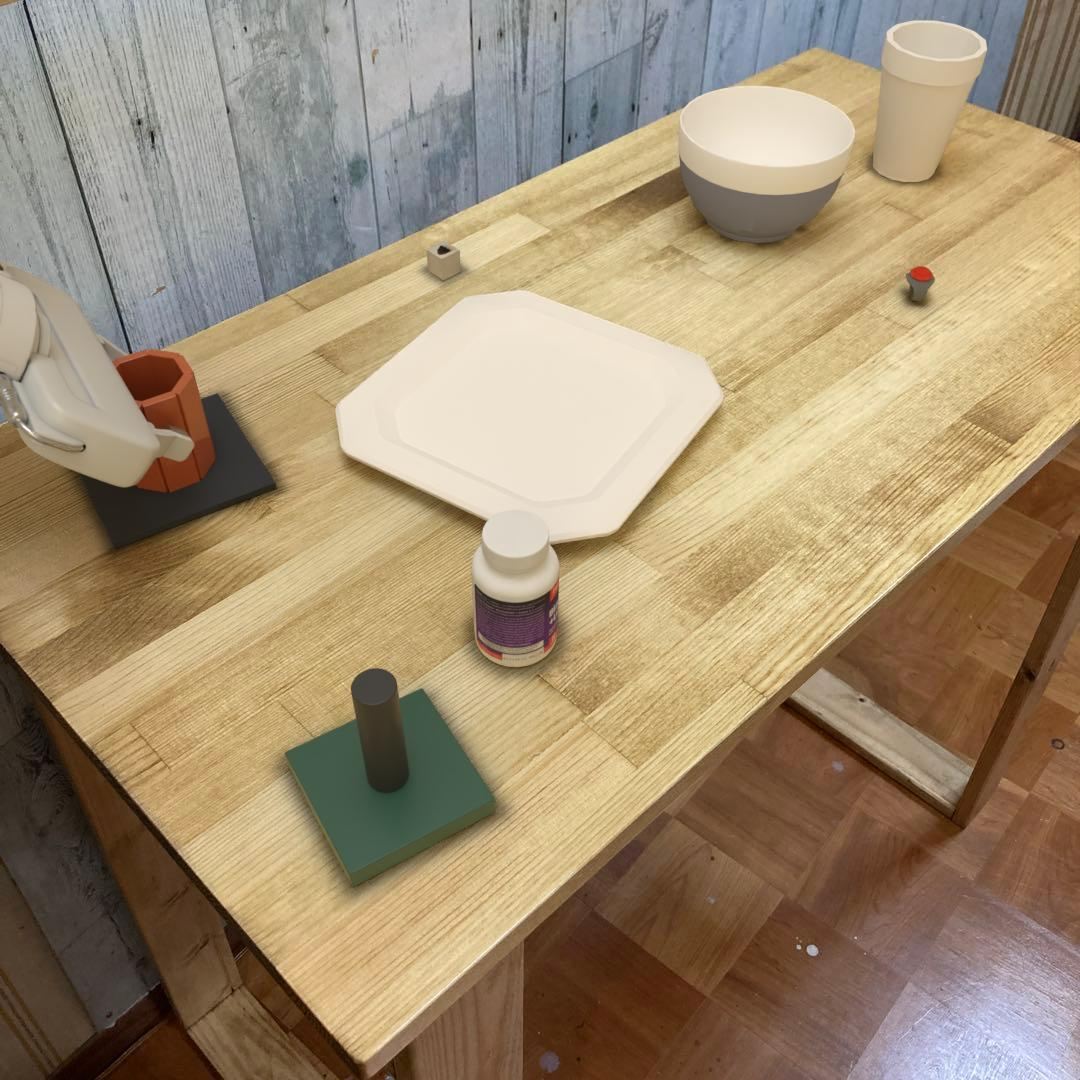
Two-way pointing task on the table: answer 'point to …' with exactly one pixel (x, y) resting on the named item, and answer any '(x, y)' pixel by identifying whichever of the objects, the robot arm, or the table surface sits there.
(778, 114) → the bowl
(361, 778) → the post stand
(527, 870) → the table surface
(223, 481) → the mat
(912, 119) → the foam cup
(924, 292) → the ring
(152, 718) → the table surface
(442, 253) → the cube with dark pebbles
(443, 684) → the table surface
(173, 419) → the orange hollow octagonal tube
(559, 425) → the plate
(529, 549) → the pill bottle
